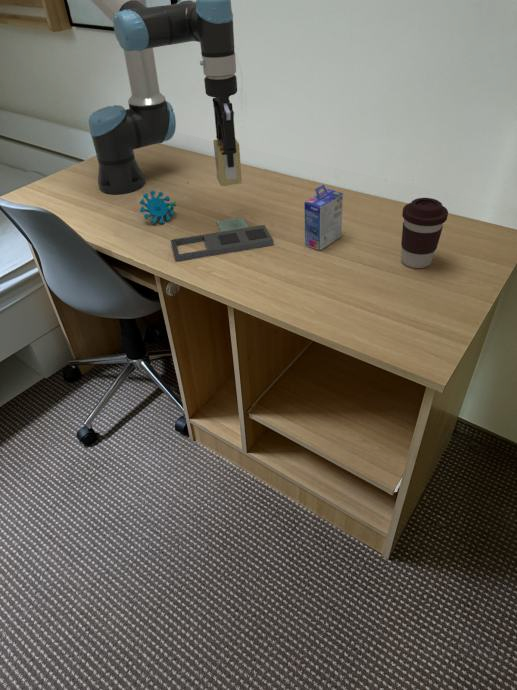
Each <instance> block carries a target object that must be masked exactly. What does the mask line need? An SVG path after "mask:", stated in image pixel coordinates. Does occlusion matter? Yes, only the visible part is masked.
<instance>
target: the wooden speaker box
mask: <svg viewBox="0 0 517 690" xmlns="http://www.w3.org/2000/svg"><path fill="white" fill-rule="evenodd" d="M235 142H236V150H237V151H236V153H235V164H236V177H237V178H235V179H228V180H226V176H225V165H224V155H222V153H221V152H224V145H223V139H217V138H216V139H213V152H214V159H215V170H216V179H217V181H218V182H219V185H220V186H221V187H226V186H233V185H239V184H242V182H243V181H242V179H243V178H242V166H241V152H240V143H239V142H238V140H237V139H236V138H235Z"/></svg>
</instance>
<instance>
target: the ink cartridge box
mask: <svg viewBox="0 0 517 690" xmlns="http://www.w3.org/2000/svg"><path fill="white" fill-rule="evenodd" d="M314 190H315V193H316V195H314V196H312V197H311V198H308V200H305V201H304V244H305V247H309V248H311V249H314V250H316V251H321V250H323V249H325V248H326V247H327V246H329V245H331V244H332V243H333V242H336V241H337V240H338V239H339V238H341V237H342V227H343V225H342V224H343V203H344V201H343V200H344V193H343V192H340V191H336V190H333V189H330V188H326V186H325V184H322V185H319V187H316V188H315V189H314ZM321 190H322V191H321ZM320 191H321V192H320Z"/></svg>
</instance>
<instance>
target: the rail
mask: <svg viewBox="0 0 517 690" xmlns="http://www.w3.org/2000/svg"><path fill="white" fill-rule="evenodd" d="M200 242H204V245H205V249H202V250H197V251H192V252H191V251H190V252H185V253H179V248H178V246H181V245H187V244H194V243H200ZM170 244H171V248H172V253H173V257H174V261H175V262H180V261H187V260H192V259H199V258H205V257H210V256H218V255H222V254H228V253H235V252H241V251H247V250H252V249H258V248H263V247H270V246H274V239H273V237H272V236H271V234H270V232H269V231H268V229H267V227H266V225H265V224H260V225H254V226H248V227H247V228H241V229H235V230H229V231H222V232H220V231H218V232H210V233H205V234H200V235H199V234H198V235H192V236H187V237H181V238H174V239H170Z"/></svg>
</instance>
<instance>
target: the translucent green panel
mask: <svg viewBox="0 0 517 690" xmlns="http://www.w3.org/2000/svg"><path fill="white" fill-rule="evenodd" d="M216 226H217V227H218V230H219V232H222V231H229V230H235V229H241V228H247V227H249V224H248V223H247V221H246V219H245V217H244V216H243V217H237V218H230V219H226V220H218V221H216Z"/></svg>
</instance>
